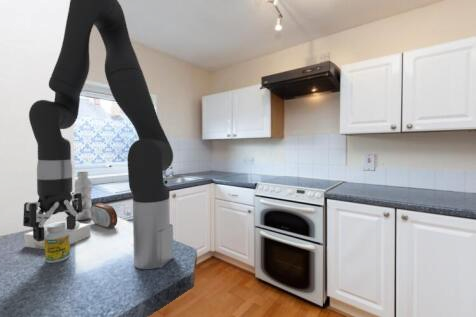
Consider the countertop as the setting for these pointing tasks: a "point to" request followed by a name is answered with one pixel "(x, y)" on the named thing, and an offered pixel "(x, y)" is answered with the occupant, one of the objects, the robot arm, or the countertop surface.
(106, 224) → the tin
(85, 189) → the plastic bottle
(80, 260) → the countertop surface
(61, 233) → the supplement bottle
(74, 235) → the kitchen scale
